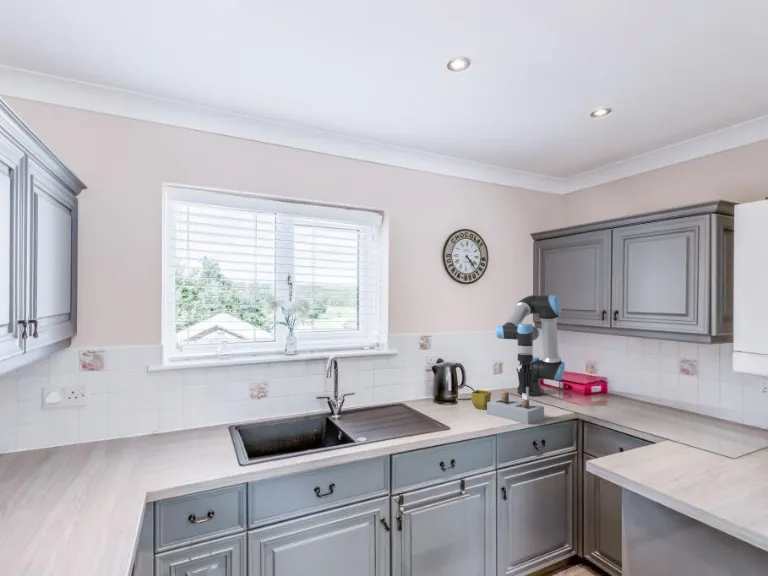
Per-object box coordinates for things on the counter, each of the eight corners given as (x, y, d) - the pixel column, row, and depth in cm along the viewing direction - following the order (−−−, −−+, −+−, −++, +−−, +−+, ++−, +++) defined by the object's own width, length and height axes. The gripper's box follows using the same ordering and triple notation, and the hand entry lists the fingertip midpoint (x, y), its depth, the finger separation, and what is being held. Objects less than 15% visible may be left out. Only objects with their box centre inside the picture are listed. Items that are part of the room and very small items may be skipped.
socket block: (504, 408, 238) (503, 397, 238) (544, 417, 220) (544, 405, 220) (487, 413, 227) (487, 402, 228) (527, 424, 209) (527, 411, 209)
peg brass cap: (504, 402, 231) (504, 390, 231) (510, 403, 228) (510, 392, 228) (500, 403, 228) (500, 391, 228) (506, 405, 226) (506, 393, 226)
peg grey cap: (524, 410, 222) (524, 398, 222) (530, 412, 219) (530, 399, 219) (520, 411, 219) (520, 399, 219) (526, 413, 217) (526, 400, 217)
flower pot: (485, 411, 233) (485, 394, 233) (470, 408, 238) (470, 392, 238) (491, 407, 240) (491, 391, 240) (477, 405, 245) (477, 389, 245)
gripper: (525, 351, 227) (525, 395, 226) (511, 354, 218) (511, 399, 218) (538, 353, 221) (538, 398, 221) (525, 355, 212) (525, 402, 212)
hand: (525, 399), depth 219 cm, fingers closed
